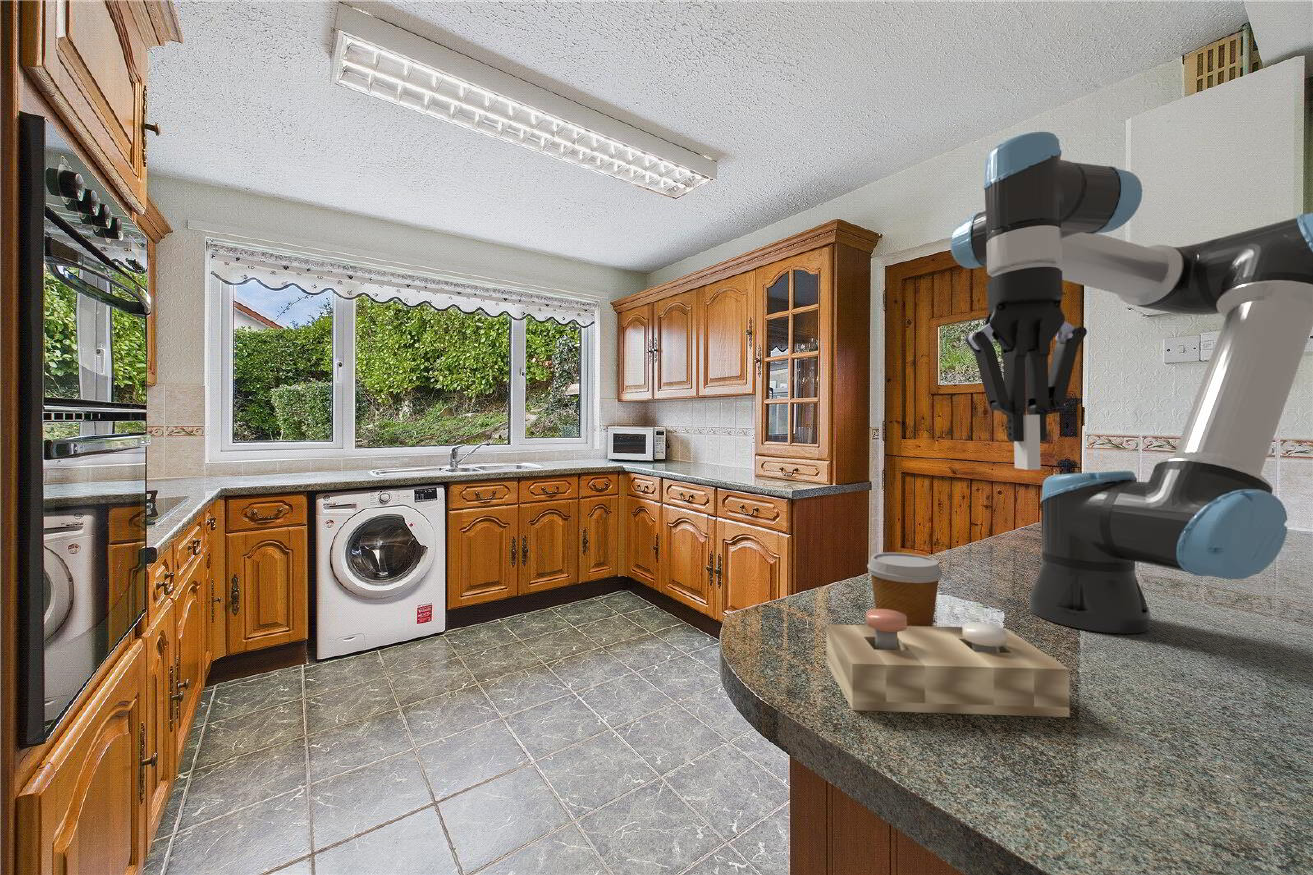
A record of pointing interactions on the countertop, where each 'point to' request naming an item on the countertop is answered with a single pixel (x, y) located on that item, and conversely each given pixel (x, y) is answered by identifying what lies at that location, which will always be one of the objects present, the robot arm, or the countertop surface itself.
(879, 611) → the pink round-capped knob part
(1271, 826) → the countertop surface
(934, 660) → the block
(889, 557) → the disposable coffee cup
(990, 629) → the white mushroom knob
